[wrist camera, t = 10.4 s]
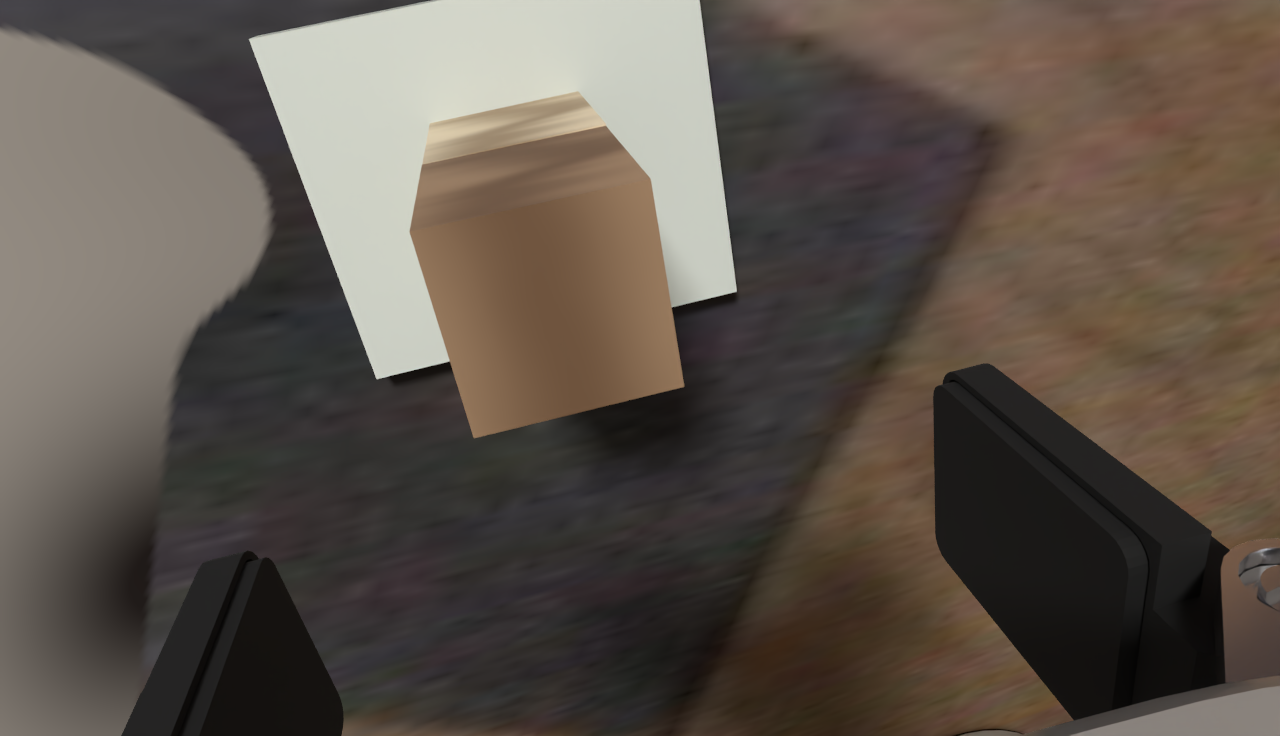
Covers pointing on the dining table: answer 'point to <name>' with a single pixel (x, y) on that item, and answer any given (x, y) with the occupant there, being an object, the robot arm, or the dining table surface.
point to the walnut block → (546, 278)
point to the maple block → (509, 126)
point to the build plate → (477, 82)
